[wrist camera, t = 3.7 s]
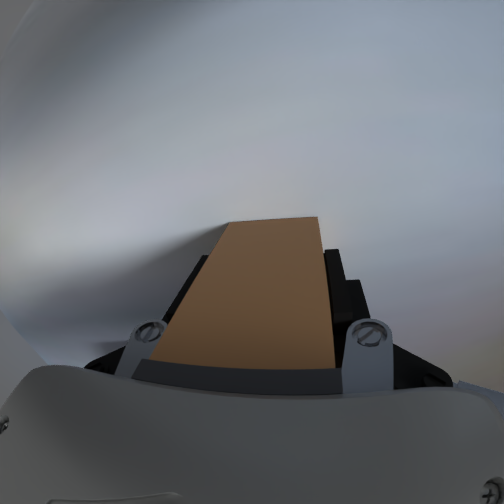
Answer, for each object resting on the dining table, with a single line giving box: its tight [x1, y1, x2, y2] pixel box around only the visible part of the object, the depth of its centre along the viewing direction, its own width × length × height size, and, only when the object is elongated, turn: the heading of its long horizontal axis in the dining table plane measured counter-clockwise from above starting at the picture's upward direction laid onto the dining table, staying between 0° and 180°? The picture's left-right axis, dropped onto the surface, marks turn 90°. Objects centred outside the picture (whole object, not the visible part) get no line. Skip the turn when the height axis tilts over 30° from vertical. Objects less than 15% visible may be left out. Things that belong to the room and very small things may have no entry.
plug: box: [131, 217, 343, 395], centre depth 10 cm, size 4×4×9 cm
